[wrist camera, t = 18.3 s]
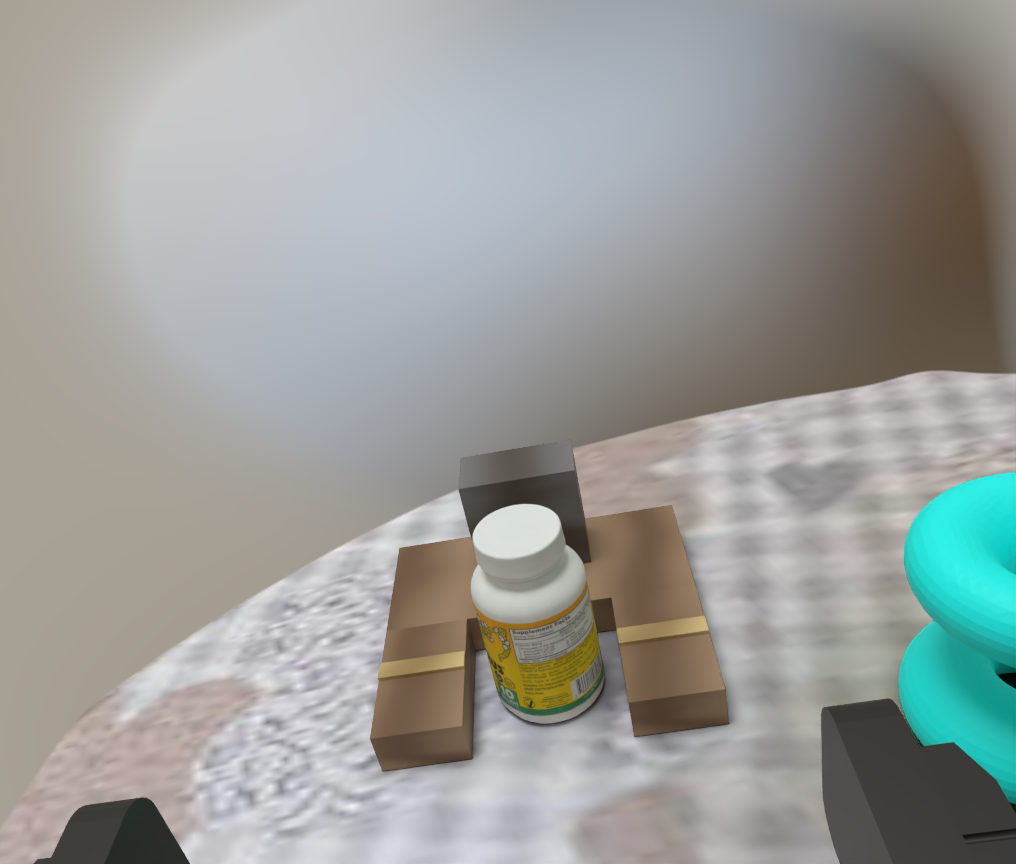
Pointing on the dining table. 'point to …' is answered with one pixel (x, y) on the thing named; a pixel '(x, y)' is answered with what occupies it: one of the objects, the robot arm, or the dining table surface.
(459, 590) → the brown grey u-shaped block
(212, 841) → the dining table surface
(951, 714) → the donuts
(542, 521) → the supplement bottle
